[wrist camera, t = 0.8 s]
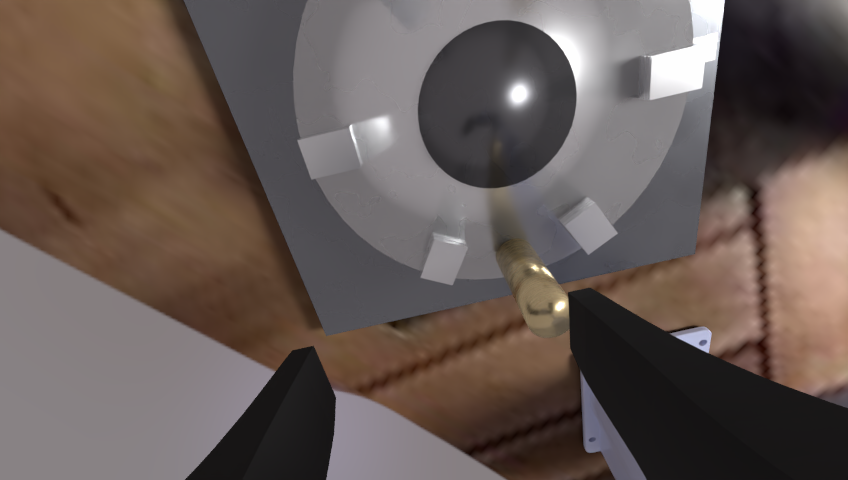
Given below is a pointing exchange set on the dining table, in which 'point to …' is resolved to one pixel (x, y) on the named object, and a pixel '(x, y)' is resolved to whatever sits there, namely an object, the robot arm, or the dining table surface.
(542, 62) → the tabbed hub disc
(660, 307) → the dining table surface
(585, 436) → the robot arm
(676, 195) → the base plate
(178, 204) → the dining table surface
